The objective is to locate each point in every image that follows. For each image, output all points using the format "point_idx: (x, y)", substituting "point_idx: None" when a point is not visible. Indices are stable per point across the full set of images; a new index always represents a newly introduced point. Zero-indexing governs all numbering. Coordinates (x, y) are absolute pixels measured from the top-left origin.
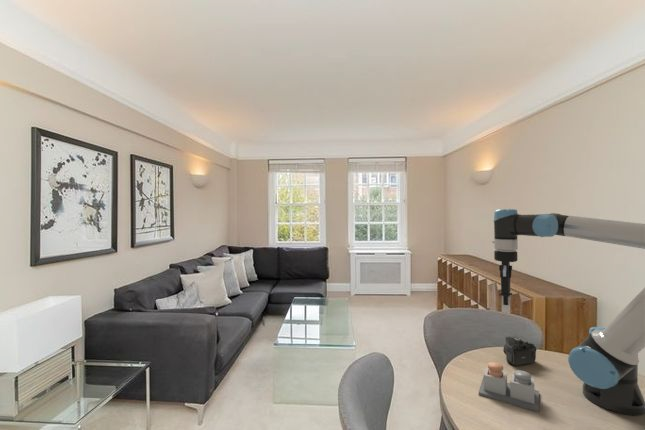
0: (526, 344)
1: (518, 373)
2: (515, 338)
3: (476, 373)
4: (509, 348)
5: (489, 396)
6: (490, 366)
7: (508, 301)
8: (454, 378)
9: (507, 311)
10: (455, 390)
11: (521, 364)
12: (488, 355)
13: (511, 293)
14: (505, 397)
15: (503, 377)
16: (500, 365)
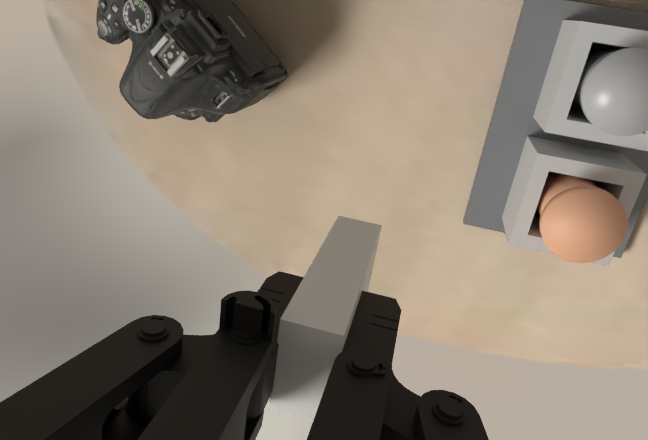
0: (163, 4)
1: (630, 114)
2: (169, 71)
3: (423, 242)
4: (235, 103)
5: (636, 217)
6: (606, 253)
7: (356, 309)
8: (501, 328)
9: (373, 256)
10: (605, 333)
11: (259, 37)
12: (218, 174)
13: (235, 312)
14: (637, 155)
15: (614, 179)
16: (577, 201)
